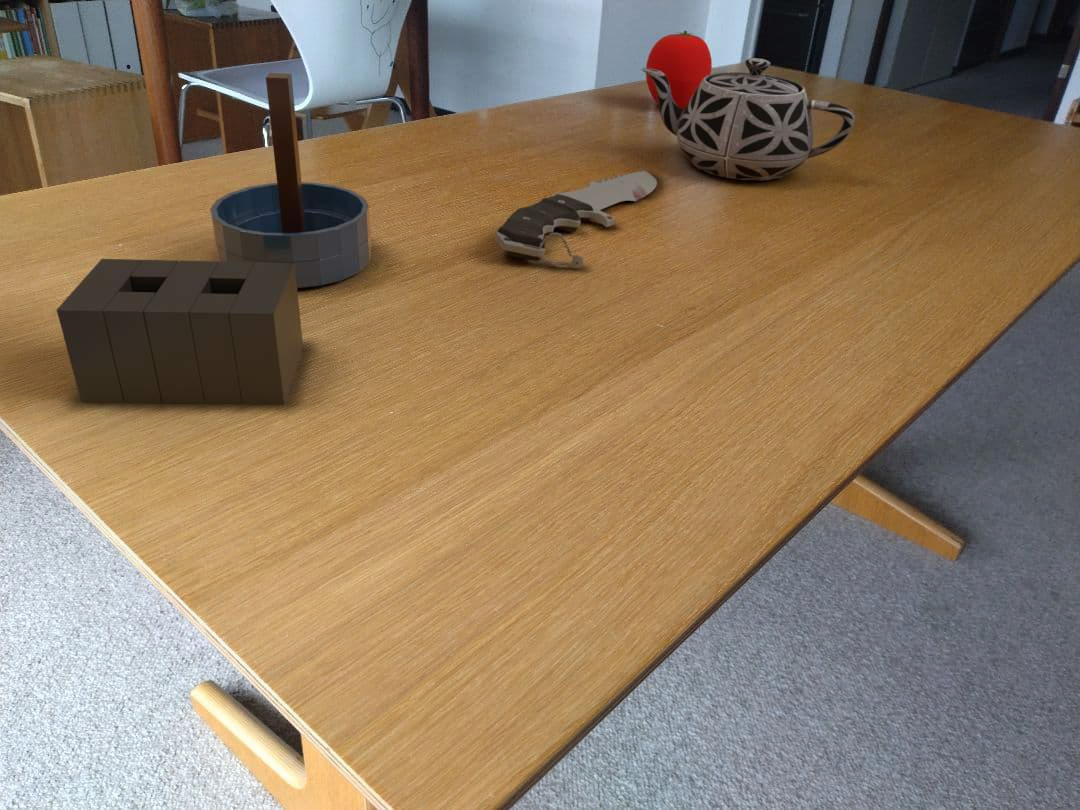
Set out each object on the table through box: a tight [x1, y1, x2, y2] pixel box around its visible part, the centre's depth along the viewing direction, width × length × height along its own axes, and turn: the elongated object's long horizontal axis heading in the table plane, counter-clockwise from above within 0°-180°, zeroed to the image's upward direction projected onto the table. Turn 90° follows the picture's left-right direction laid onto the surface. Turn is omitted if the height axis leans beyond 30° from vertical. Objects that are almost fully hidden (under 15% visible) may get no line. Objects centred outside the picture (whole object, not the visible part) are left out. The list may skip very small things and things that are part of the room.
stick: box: [265, 72, 306, 233], centre depth 86 cm, size 2×2×18 cm
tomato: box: [645, 30, 713, 110], centre depth 152 cm, size 11×11×13 cm
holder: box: [56, 258, 304, 406], centre depth 69 cm, size 15×9×8 cm, turn 94°
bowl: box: [209, 181, 372, 289], centre depth 89 cm, size 15×15×6 cm
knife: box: [494, 170, 658, 270], centre depth 106 cm, size 36×10×4 cm, turn 159°
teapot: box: [640, 57, 856, 182], centre depth 124 cm, size 19×31×15 cm, turn 68°
